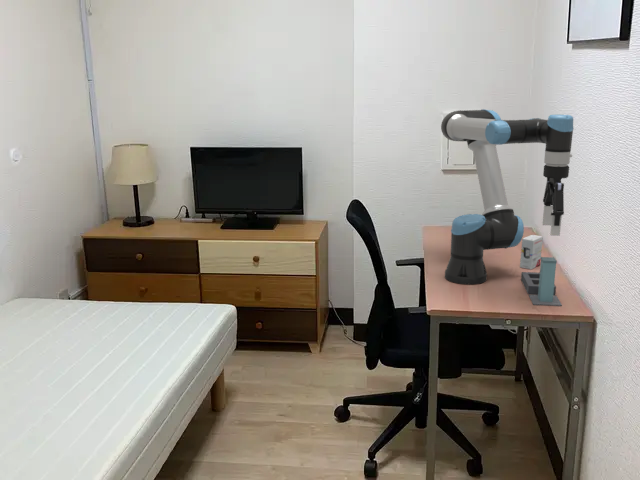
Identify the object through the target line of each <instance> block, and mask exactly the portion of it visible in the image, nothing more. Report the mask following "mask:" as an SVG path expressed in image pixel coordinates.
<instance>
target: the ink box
mask: <svg viewBox="0 0 640 480" xmlns="http://www.w3.org/2000/svg"><path fill="white" fill-rule="evenodd" d="M543 239H544V236H541V235H535V234H530V235H528V236H525V237H522V239H521V250H520V251H521V252H520V259H519V260H520V262H519V268H523V269H527V270H533V269H535V268H537V267H538V266H539V265H541V257H542V251H543V249H542V248H543Z"/></svg>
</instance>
